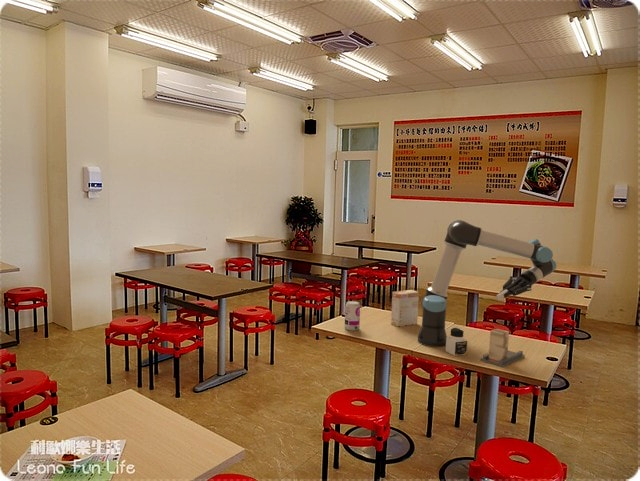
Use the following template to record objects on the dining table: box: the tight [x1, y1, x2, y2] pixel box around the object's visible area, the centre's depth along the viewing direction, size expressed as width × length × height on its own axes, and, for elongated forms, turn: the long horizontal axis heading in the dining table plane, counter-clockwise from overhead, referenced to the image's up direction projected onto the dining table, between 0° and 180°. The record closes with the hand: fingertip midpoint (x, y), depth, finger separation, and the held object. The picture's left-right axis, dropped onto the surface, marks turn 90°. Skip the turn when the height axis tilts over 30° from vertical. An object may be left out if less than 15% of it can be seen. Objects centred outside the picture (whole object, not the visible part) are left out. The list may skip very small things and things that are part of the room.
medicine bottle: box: [445, 327, 468, 357], centre depth 226 cm, size 7×7×12 cm
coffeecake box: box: [390, 289, 420, 327], centre depth 275 cm, size 15×7×20 cm, turn 120°
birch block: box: [488, 328, 510, 361], centre depth 216 cm, size 6×6×13 cm
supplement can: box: [344, 300, 361, 332], centre depth 261 cm, size 8×8×15 cm
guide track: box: [480, 350, 526, 368], centre depth 220 cm, size 22×11×2 cm, turn 133°
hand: (497, 297), depth 231 cm, fingers closed
